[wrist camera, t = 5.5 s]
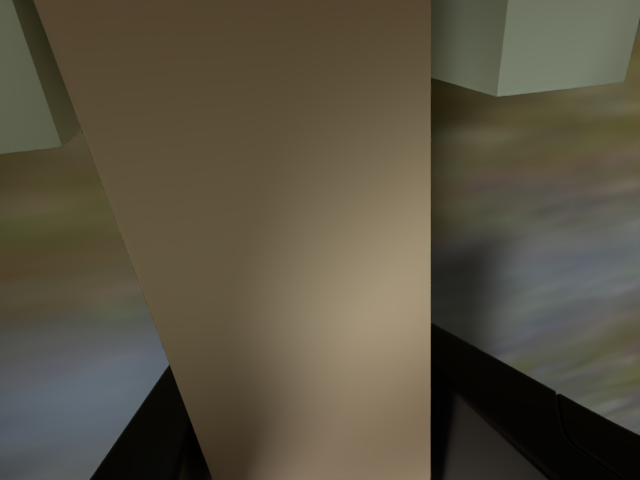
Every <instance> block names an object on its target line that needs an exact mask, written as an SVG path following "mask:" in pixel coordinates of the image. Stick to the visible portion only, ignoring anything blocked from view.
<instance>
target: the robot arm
mask: <svg viewBox="0 0 640 480" xmlns="http://www.w3.org/2000/svg"><path fill="white" fill-rule="evenodd" d="M90 480H213V479H212V476H211V474H210V471H209V468H208V466H207V463H206V460H205V458H204V455H203V452H202V450H201V447H200V444H199V442H198V439H197V436H196V434H195V431H194V428H193V426H192V423H191V420H190V418H189V415H188V412H187V410H186V407H185V404H184V402H183V399H182V396H181V394H180V391H179V388H178V385H177V383H176V380H175V377H174V375H173V372H172V369H171V367H170V364H169V366H168V367H167V369H166V370H165V371H164V373H163V374H162V376H161V377H160V379H159V380H158V382H157V383H156V384H155V386H154V387H153V389H152V390H151V392H150V393H149V395H148V396H147V397H146V399H145V400H144V402H143V403H142V405H141V406H140V408H139V409H138V410H137V412H136V413H135V415H134V416H133V418H132V419H131V421H130V422H129V424H128V425H127V426H126V428H125V429H124V431H123V432H122V434H121V435H120V437H119V438H118V439H117V441H116V442H115V444H114V445H113V447H112V448H111V450H110V451H109V452H108V454H107V455H106V457H105V458H104V460H103V461H102V463H101V464H100V465H99V467H98V468H97V470H96V471H95V473H94V474H93V476H92V477H91V478H90ZM430 480H640V435H638V434H636V433H634V432H632V431H630V430H628V429H626V428H624V427H622V426H620V425H618V424H616V423H614V422H612V421H610V420H608V419H606V418H604V417H603V416H601V415H599V414H597V413H595V412H593V411H591V410H589V409H587V408H586V407H584V406H582V405H580V404H578V403H576V402H575V401H573V400H571V399H569V398H567V397H566V396H564V395H562V394H556V392H555V391H554V390H553V389H551V388H549V387H547V386H545V385H544V384H542V383H540V382H538V381H536V380H535V379H533V378H531V377H529V376H527V375H525V374H524V373H522V372H520V371H518V370H516V369H515V368H513V367H511V366H509V365H507V364H506V363H504V362H502V361H500V360H498V359H497V358H495V357H493V356H491V355H489V354H488V353H486V352H484V351H482V350H480V349H478V348H477V347H475V346H473V345H471V344H469V343H468V342H466V341H464V340H462V339H460V338H459V337H457V336H455V335H453V334H451V333H450V332H448V331H446V330H444V329H442V328H441V327H439V326H437V325H435V324H433V323H432V322H431V417H430Z"/></svg>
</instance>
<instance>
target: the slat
mask: <svg viewBox="0 0 640 480" xmlns="http://www.w3.org/2000/svg"><path fill="white" fill-rule="evenodd" d="M33 1H34V3H35V6H36V9H37V11H38V14H39V17H40V19H41V22H42V25H43V27H44V30H45V33H46V35H47V38H48V41H49V43H50V46H51V49H52V51H53V54H54V57H55V59H56V62H57V65H58V67H59V70H60V73H61V75H62V78H63V81H64V83H65V86H66V89H67V91H68V94H69V97H70V100H71V102H72V105H73V108H74V110H75V113H76V116H77V118H78V121H79V124H80V126H81V129H82V132H83V134H84V137H85V140H86V142H87V145H88V148H89V150H90V153H91V156H92V158H93V161H94V164H95V166H96V169H97V172H98V174H99V177H100V180H101V182H102V185H103V188H104V190H105V193H106V196H107V198H108V201H109V204H110V206H111V209H112V212H113V214H114V217H115V220H116V222H117V225H118V228H119V230H120V233H121V236H122V238H123V241H124V244H125V247H126V249H127V252H128V255H129V257H130V260H131V263H132V265H133V268H134V271H135V273H136V276H137V279H138V281H139V284H140V287H141V289H142V292H143V295H144V297H145V300H146V303H147V305H148V308H149V311H150V313H151V316H152V319H153V321H154V324H155V327H156V329H157V332H158V335H159V337H160V340H161V343H162V345H163V348H164V351H165V353H166V356H167V359H168V361H169V364H170V367H171V369H172V372H173V375H174V377H175V380H176V383H177V385H178V388H179V391H180V394H181V396H182V399H183V402H184V404H185V407H186V410H187V412H188V415H189V418H190V420H191V423H192V426H193V428H194V431H195V434H196V436H197V439H198V442H199V444H200V447H201V450H202V452H203V455H204V458H205V460H206V463H207V466H208V468H209V471H210V474H211V476H212V479H213V480H430V417H431V0H33Z"/></svg>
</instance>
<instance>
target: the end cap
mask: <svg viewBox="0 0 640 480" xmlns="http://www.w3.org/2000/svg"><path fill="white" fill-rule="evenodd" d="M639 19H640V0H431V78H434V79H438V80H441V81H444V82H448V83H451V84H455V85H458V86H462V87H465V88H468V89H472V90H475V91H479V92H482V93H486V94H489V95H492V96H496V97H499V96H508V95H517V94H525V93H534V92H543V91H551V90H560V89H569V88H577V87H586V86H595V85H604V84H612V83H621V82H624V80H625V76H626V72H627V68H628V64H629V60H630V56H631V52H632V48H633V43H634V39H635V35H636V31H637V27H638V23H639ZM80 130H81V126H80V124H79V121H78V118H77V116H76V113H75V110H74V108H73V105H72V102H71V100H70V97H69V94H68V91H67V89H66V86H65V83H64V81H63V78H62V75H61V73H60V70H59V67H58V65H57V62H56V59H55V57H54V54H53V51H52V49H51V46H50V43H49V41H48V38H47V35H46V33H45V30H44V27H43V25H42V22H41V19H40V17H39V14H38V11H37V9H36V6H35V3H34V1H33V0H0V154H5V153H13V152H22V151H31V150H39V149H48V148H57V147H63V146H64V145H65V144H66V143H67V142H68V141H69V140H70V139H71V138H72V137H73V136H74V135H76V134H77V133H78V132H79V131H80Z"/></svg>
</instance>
